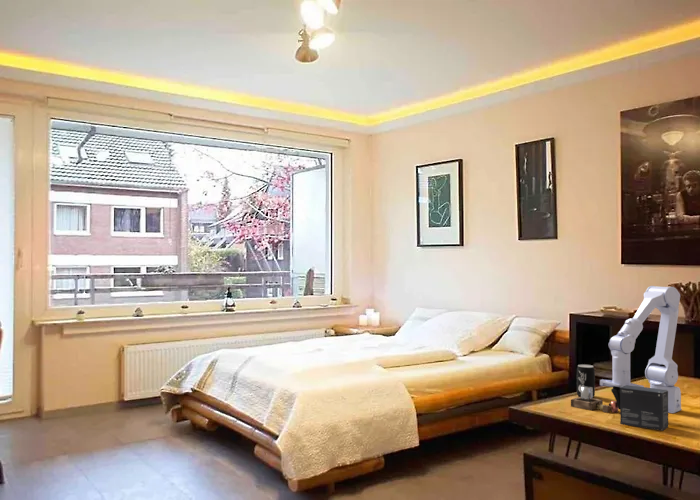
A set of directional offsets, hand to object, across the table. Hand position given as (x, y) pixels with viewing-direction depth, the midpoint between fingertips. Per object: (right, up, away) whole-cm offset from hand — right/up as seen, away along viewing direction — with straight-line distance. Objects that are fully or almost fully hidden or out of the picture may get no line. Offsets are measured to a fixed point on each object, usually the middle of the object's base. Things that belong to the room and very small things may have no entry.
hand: (621, 409), depth 213 cm
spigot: (-8, -2, +10) cm, 13 cm away
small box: (0, -1, -15) cm, 16 cm away
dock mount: (-7, -1, +7) cm, 10 cm away
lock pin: (-4, -2, +5) cm, 7 cm away
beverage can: (-2, -2, +26) cm, 27 cm away
